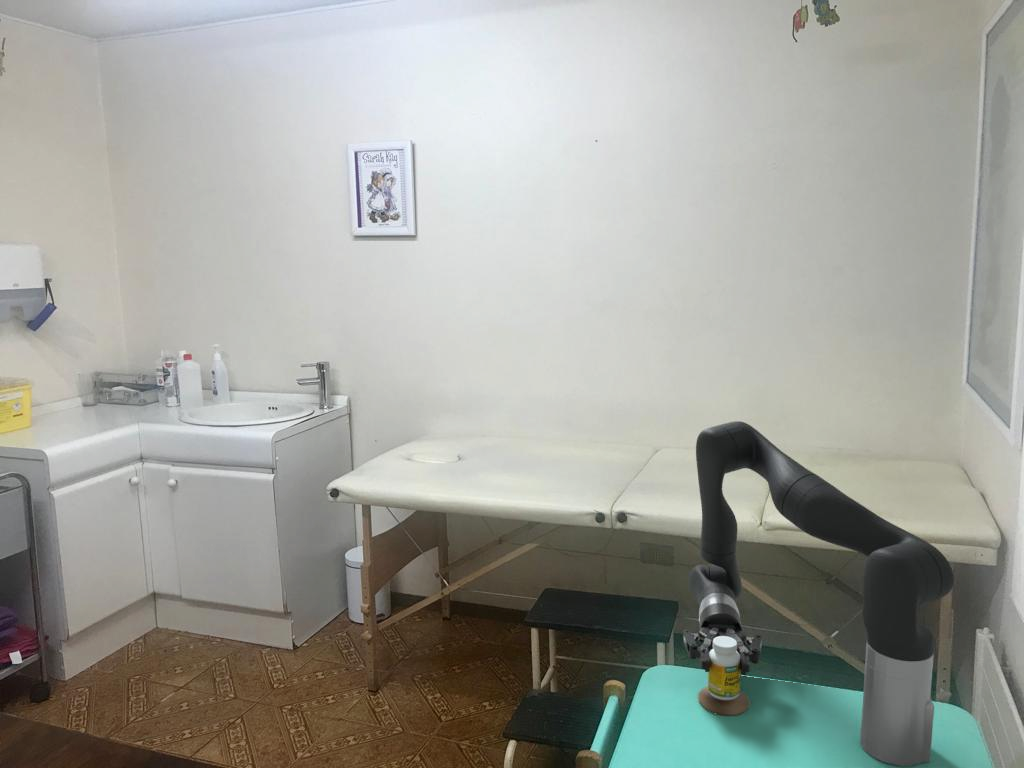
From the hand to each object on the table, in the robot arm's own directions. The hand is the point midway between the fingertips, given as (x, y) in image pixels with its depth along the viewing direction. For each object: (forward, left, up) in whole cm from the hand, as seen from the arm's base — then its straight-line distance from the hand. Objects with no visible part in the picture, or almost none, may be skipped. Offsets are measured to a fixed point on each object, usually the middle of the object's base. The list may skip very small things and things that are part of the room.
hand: (725, 668), depth 136 cm
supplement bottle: (0, -3, -6) cm, 7 cm away
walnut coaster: (0, -3, -8) cm, 8 cm away
